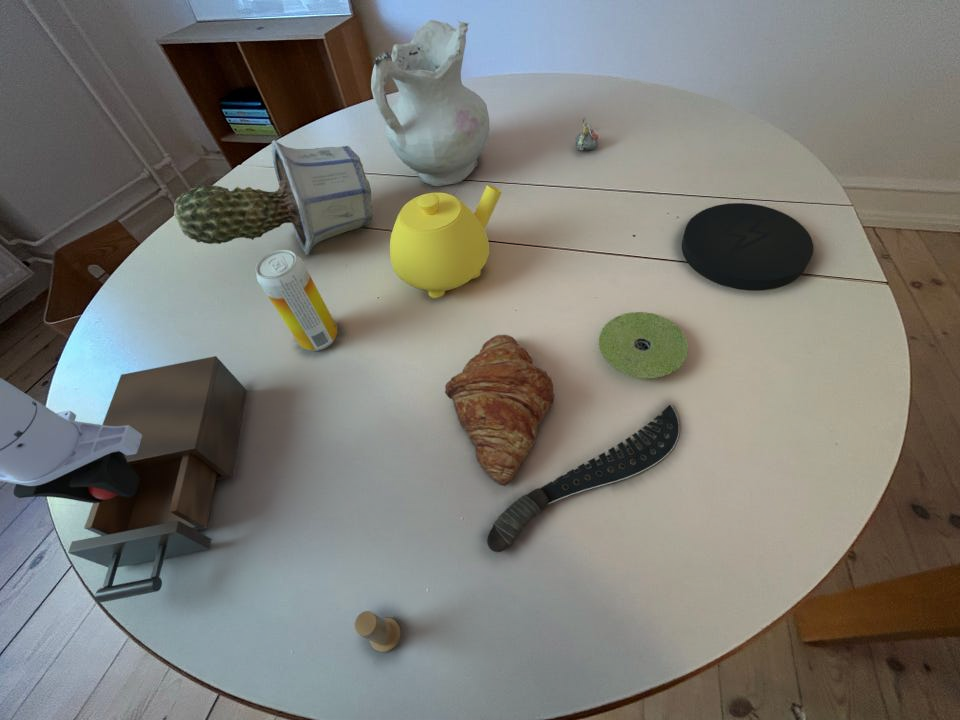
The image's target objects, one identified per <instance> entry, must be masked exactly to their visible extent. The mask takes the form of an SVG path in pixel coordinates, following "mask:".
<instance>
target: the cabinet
mask: <svg viewBox="0 0 960 720" xmlns="http://www.w3.org/2000/svg"><path fill="white" fill-rule="evenodd" d="M247 392H248V390H247V389H246V388H245V386H244V384H242V383H241V382H240V381H239V380H238V379H237V377H236V376H235V375H234V374H233V373H232V372H231V370H229V369H228V367H226V365H225V364H224V363H223V362H222V361H221V360H220V359H219V357H218V356H217V355H215V356H214V355H213V356H208V357H204V358H198V359H193V360H189V361H183V362H179V363H174V364H168V365H163V366H158V367H153V368H148V369H142V370H139V371H138V370H137V371H132V372H128V373H123V374H120V376H119V379H118V381H117V384H116V387H115V390H114V393H113V395H112V398H111V401H110V402H109V403H110V404H109V406H108V409H107V411H106V414H105V417H104V420H103V422H102V425H106V426H125V425H129V426H131V427H132V428H134V429H135V430H136V431H138V432H139V433H141V434H142V438H141V442H140V446H139V448H138V451H137V454H133V455H125V454H124V456H125V458H126V460H127V461H128V463H129V465H133V464H138V463H143V462H148V461H153V460H158V459H163V458H168V457H174V456H179V455H184V454H189V453H193V454H194V455H196V456H197V457H198V458H199V459H201V460H202V461H203V462H205V463H206V464H207V465H209V466H210V467H211V468H212V469H214V470H215V471H216V472H217V476H216V481H215V482H217V481H222V480H226V479H227V480H228V479H231V478H232V477H233V472H234V468H235V461H236V456H237V450H238V444H239V438H240V431H241V425H242V420H243V414H244V413H243V412H244V410H245V409H244V408H245V403H246V396H247Z"/></svg>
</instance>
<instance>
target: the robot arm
mask: <svg viewBox="0 0 960 720" xmlns="http://www.w3.org/2000/svg"><path fill="white" fill-rule="evenodd" d="M76 419H77V414H76V413H74V412H72V411H71V410H65V411H59V412H55V411H53V410H52V409H50V408H48V407H47V406H45V405H44V404H42V402H40V401H38V400H36V399H35V398H33V397H31V395H30V396H29V394H27V393H26V392H24V391H22V390H21V389H19V388H17V386H14V385H13V384H11V383H10V382H8V381H6V380H5V379H4V378H2V377H0V482H4V483H10V484H15V486H14V489H13V491H12V492H13V493H12V494H13V496H14V497H15V498H18V499H24V498H40V497H41V498H42V497H43V498H58V499H59V498H60V499H66V500H71V501H72V500H73V501H78V502H82V503H89V504H93V503H100V502H102V500H103V499H98V498H96V497H94V496H92V495H91V494H90V492H89V490H88V487H94V488H99V489H103V490H106V491H109V492H111V493H114V494H117V495H119V496H124V497H131V496H134V495H135V494H136V490H137V487H138V484H139V480H140V478H139V477H138V475H137V474H136V473H135V471H134V470H133V469H132V467H131V466H130V465H129V463H128V461H127V460H126V458H125V456H124V454H125V455H133V454H137V451H138V448H139V446H140V442H141V438H142V434H141V433H139V432H138V431H136V430H135V429H134V428H132V427H131V426H129V425H125V426H106V425H103V424H98V423H92V422H84V421H77V420H76Z"/></svg>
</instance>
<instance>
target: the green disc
mask: <svg viewBox="0 0 960 720" xmlns="http://www.w3.org/2000/svg"><path fill="white" fill-rule="evenodd" d="M688 345H689V344H688V341H687V338H686V336H685V334H684V333H683V332H682V330H681V328H680V327H679V326H678V325H676V324H675V323H674V322H672V321H671V320H669V319H668V318H666V317H664V316H662V315H659V314H656V313H653V312H648V311H647V312H645V311H636V312H626V313H623V314H620V315H618V316H616V317H613V318H612V319H611V320H609V321H608V322H607V323H606V324H605V325H604V326H603V327H602V329H601V331H600V333H599V337H598V346H599V351H600V353H601V354H602V357H603V358H604V360H605V361H606V362H607V363H608V364H609V365H610V366H612V368H614V369H615V370H617V371H619V372H621V373H623V374H625V375H627V376H630V377H634V378H639V379H649V380H650V379H656V378H661V377H665V376H667V375H671V374H672V373H674V372H676V371H677V370H679V368H680V367H681V366H682V365H683V364H684V363H685V361H686V358H687V356H688V351H689V347H688Z"/></svg>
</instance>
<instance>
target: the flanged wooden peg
mask: <svg viewBox="0 0 960 720" xmlns="http://www.w3.org/2000/svg"><path fill="white" fill-rule="evenodd" d="M354 631H355V632H356V634H357V635H359V636H360V637H363V638H364V639H366V640H368V641H369V642H370V645H371V647H372V648H373V649H374V650H376V651H377V652H379V653H388V652H390V651H392V650H394V649H395V648H396V647H397V645H398V644H399V641H400V639H401V627H400V624H399V623H398V621H396V620H395V619H393V618H392V617H389V616H388V617H380V616H379V615H377V614H375V613H374V612H372V611H370V610H365V611H362V612H361V613H359V614H358V615H357V617H356V619H355V620H354Z"/></svg>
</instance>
